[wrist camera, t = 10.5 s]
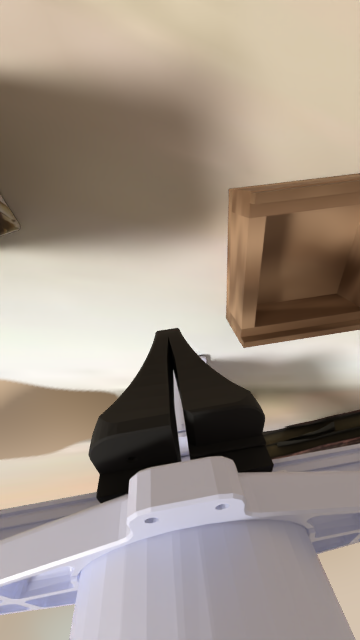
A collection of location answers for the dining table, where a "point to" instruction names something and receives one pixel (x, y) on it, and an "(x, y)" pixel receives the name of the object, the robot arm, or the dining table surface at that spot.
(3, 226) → the coffee box
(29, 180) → the dining table surface
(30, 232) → the dining table surface
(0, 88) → the dining table surface
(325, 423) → the diary
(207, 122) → the dining table surface
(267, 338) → the wooden box
